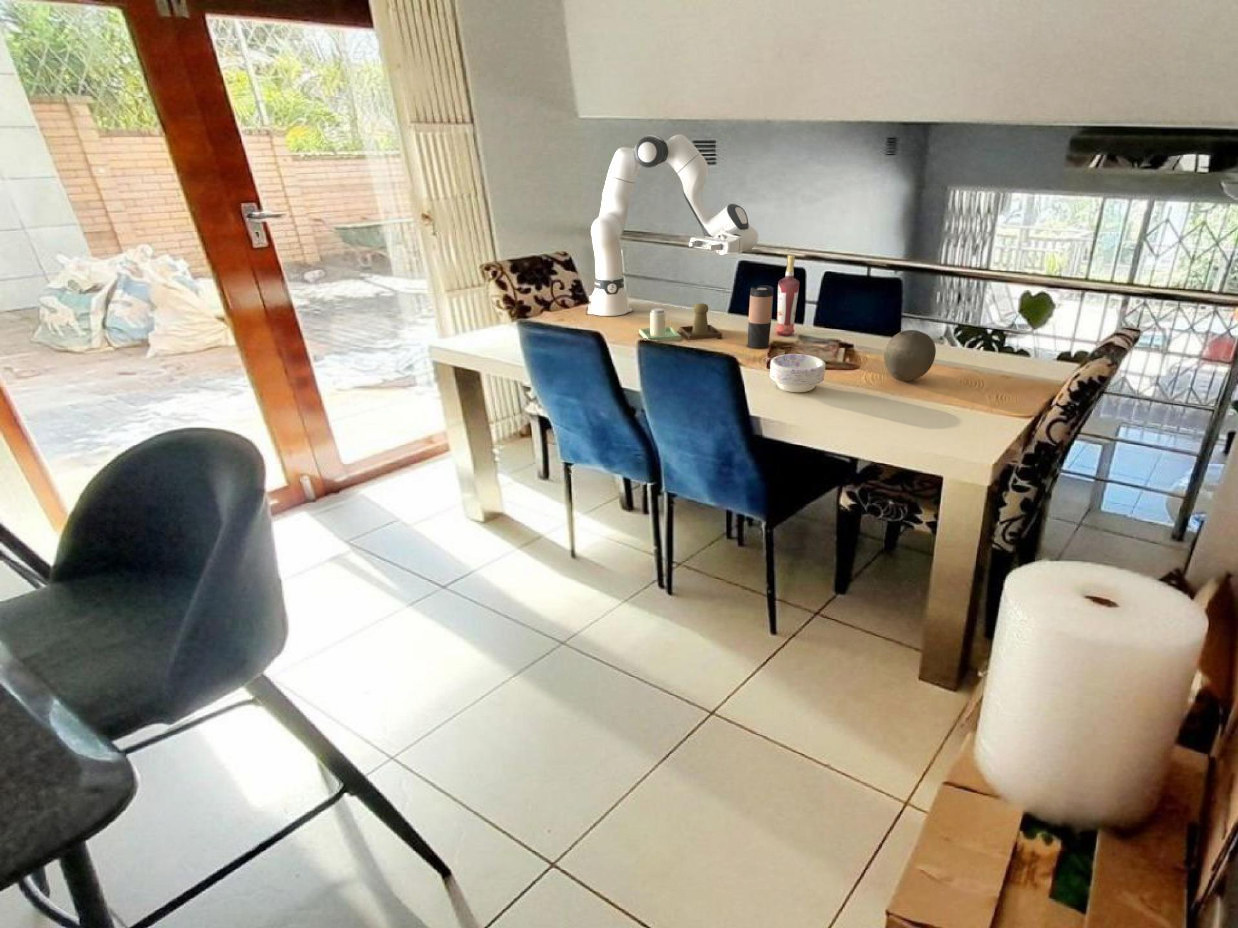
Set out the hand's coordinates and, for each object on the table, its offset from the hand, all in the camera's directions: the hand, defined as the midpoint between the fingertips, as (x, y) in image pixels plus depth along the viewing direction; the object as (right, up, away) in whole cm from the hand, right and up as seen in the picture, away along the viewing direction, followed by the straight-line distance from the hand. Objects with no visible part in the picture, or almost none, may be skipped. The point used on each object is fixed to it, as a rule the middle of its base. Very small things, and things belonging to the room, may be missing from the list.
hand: (699, 246), depth 256 cm
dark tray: (0, -32, +1) cm, 32 cm away
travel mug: (+19, -39, -13) cm, 45 cm away
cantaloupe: (+55, -55, -50) cm, 93 cm away
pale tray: (-15, -33, 0) cm, 36 cm away
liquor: (+31, -32, 0) cm, 45 cm away
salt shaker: (-15, -33, -2) cm, 37 cm away
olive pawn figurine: (0, -32, +1) cm, 32 cm away
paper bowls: (+22, -58, -53) cm, 81 cm away
